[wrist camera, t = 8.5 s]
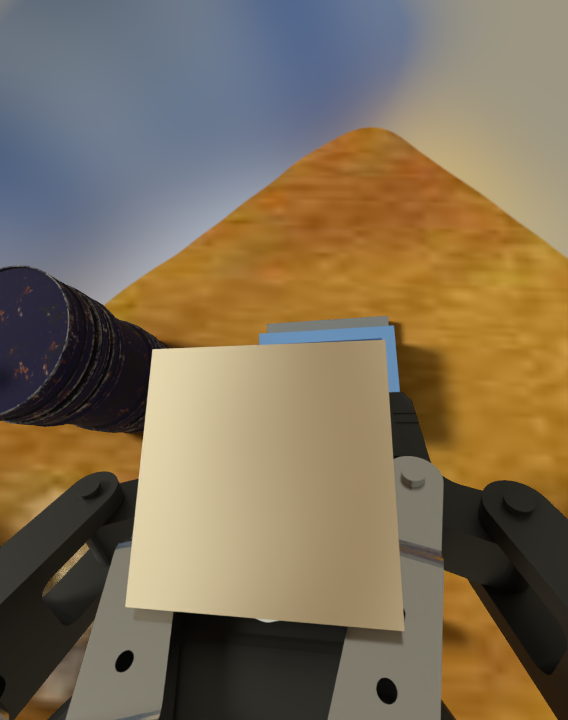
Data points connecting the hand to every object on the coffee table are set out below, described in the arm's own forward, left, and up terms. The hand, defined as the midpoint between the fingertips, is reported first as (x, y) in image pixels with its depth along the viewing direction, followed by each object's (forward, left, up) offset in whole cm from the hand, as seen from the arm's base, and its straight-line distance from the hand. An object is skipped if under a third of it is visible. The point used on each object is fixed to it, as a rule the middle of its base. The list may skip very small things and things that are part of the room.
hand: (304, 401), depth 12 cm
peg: (0, -2, -5) cm, 6 cm away
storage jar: (-19, +5, -20) cm, 28 cm away
